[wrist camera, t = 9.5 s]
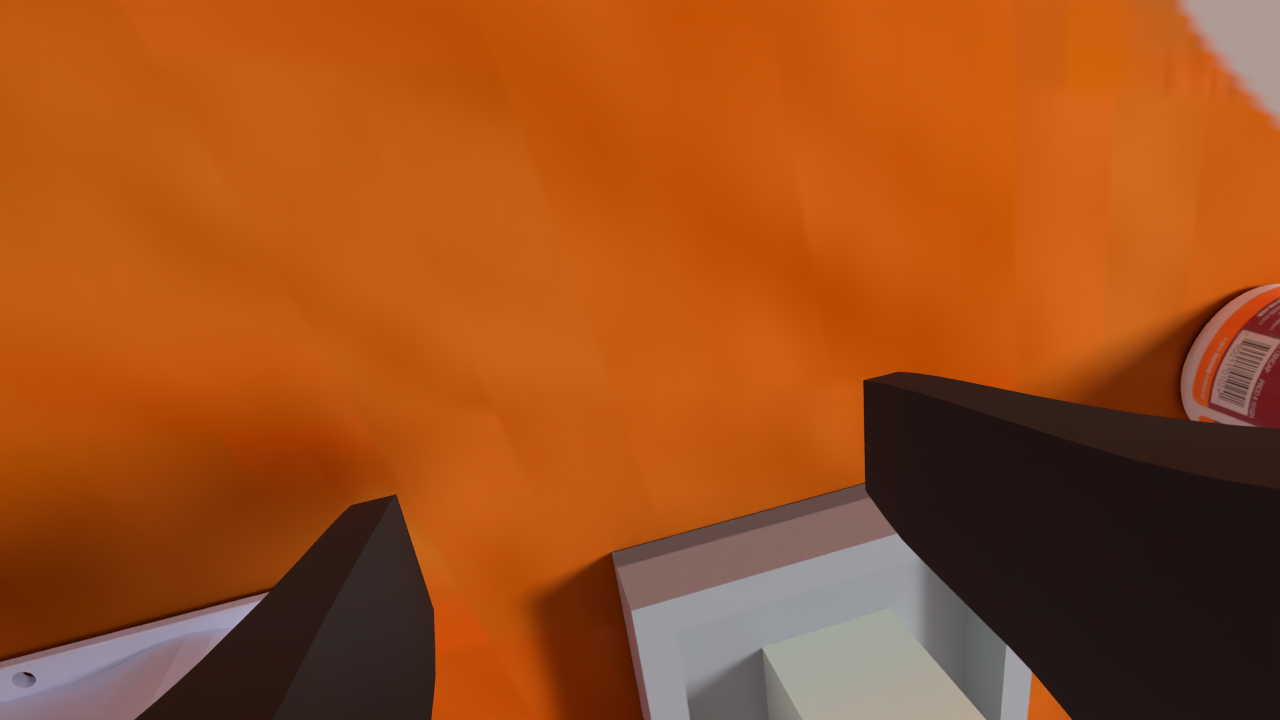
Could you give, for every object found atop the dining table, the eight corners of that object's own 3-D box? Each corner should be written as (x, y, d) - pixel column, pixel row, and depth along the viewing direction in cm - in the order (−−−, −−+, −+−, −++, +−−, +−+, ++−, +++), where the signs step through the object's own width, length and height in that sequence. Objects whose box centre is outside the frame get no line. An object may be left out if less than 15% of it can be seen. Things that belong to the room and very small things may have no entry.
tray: (672, 868, 27) (693, 945, 25) (611, 552, 22) (631, 611, 19) (969, 759, 30) (1016, 819, 27) (988, 449, 24) (1050, 489, 21)
